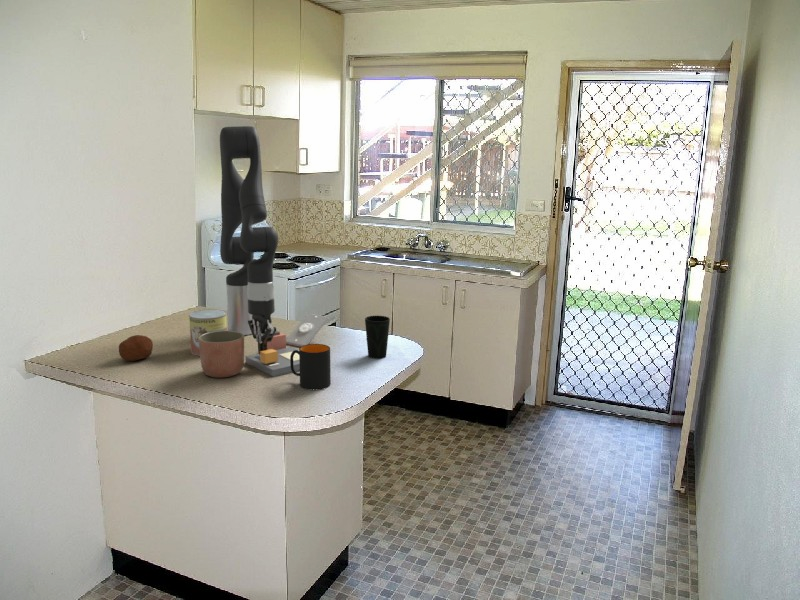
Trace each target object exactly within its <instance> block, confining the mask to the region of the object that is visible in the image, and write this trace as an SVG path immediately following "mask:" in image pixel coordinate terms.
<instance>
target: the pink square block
mask: <svg viewBox="0 0 800 600" xmlns="http://www.w3.org/2000/svg"><path fill="white" fill-rule="evenodd" d="M286 339H287V335H286V334H284V333H283V332H280V331H278V330H276V332H275V334H274V336H273V339H272V341H271V342H267V350H269V349H274V350H278V349H283V348H287V344H286Z"/></svg>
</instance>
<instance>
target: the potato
mask: <svg viewBox="0 0 800 600" xmlns="http://www.w3.org/2000/svg"><path fill="white" fill-rule="evenodd" d="M153 348H154V343H153V341H152V339H151V338H150V337H148V336H146V335H140V334H136V335H131V336H130V337H127V339H124V340H123V341H122V342H120V343H119V344H118V354H119V356H120V357H121V359H123V360H124V361H127V362H135V361H139V360H143V359H146V358H149V357H150V356H151V355H152V352H153Z"/></svg>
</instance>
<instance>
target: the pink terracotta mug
mask: <svg viewBox="0 0 800 600" xmlns="http://www.w3.org/2000/svg"><path fill="white" fill-rule="evenodd" d="M198 339H199V350H200V356H199V358H200V364H201V368H202V371H203V374H205V375H207V376H208V377H212V378H216V379H217V378H220V379H221V378H222V379H223V378H229V377H233V376H236V375H239V373H240V372H242V370H243V368H244V365H245V364H244V362H245V335H243V334H242V333H240V332H236V331H228V330H227V331H214V332H209V333H205V334H202V335H201V336H199V338H198Z"/></svg>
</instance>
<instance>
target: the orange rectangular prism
mask: <svg viewBox="0 0 800 600" xmlns="http://www.w3.org/2000/svg"><path fill="white" fill-rule="evenodd" d="M260 361H261V362H263V363H265V364H268V363H272V362H277V361H278V351H276V350H274V349H269V350H265V351H260Z"/></svg>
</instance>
